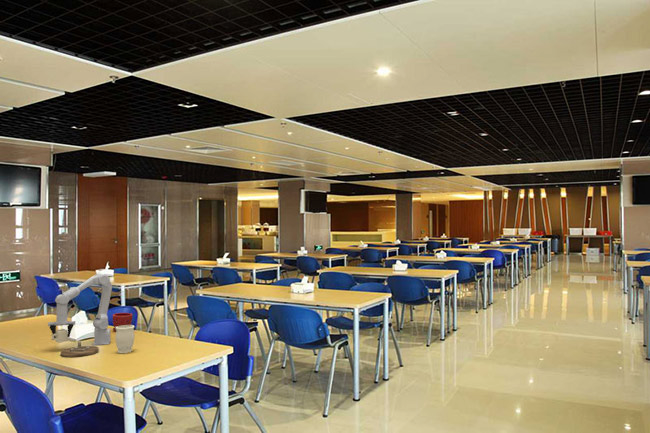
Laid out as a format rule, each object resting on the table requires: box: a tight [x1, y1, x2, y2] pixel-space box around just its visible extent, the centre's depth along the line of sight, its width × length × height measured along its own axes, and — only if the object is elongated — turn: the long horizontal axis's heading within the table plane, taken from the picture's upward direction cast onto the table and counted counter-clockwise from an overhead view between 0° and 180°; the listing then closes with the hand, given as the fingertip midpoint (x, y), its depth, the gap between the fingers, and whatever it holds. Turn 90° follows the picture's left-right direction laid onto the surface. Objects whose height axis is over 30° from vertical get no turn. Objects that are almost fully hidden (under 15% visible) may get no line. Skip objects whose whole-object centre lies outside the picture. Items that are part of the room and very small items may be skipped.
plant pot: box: [112, 312, 133, 332], centre depth 348 cm, size 13×13×12 cm
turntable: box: [60, 341, 100, 358], centre depth 286 cm, size 20×20×4 cm
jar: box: [114, 324, 135, 354], centre depth 289 cm, size 11×10×15 cm
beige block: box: [51, 328, 69, 344], centre depth 292 cm, size 8×5×6 cm, turn 142°
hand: (61, 337), depth 293 cm, fingers closed on beige block, 7 cm apart
